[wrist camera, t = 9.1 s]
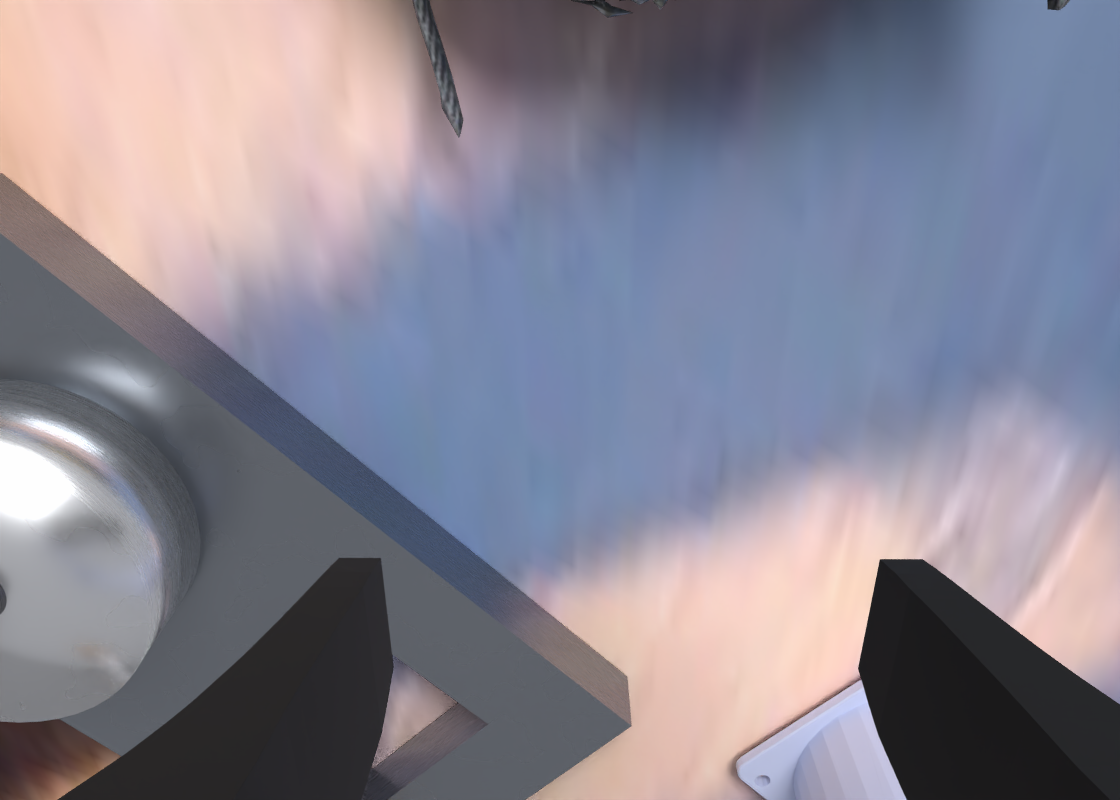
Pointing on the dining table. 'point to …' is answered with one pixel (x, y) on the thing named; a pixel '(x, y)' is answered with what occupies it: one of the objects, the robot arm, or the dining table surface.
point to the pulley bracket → (232, 541)
